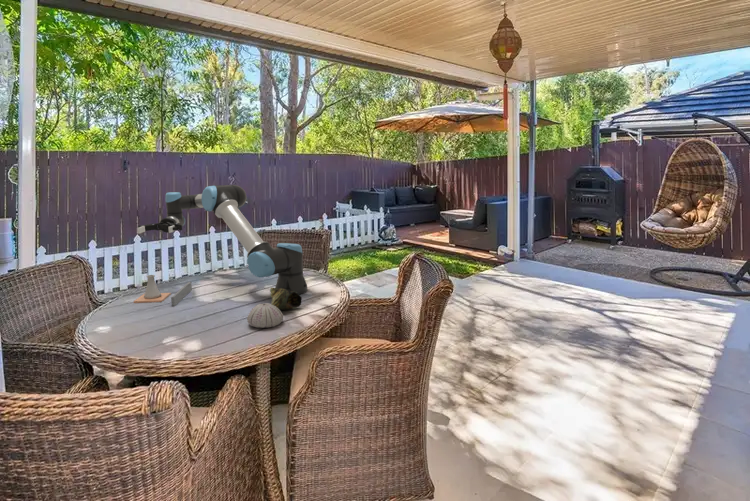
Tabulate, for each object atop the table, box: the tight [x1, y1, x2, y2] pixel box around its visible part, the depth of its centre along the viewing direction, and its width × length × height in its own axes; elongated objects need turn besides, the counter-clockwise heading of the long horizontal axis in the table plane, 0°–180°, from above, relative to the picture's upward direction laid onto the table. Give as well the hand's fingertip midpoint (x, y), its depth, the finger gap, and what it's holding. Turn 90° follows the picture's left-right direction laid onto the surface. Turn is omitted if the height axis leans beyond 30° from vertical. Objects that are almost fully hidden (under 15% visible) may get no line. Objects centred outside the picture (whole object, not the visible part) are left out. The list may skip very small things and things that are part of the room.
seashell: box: [269, 287, 303, 311], centre depth 184 cm, size 11×11×10 cm
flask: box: [143, 274, 162, 299], centre depth 202 cm, size 7×7×10 cm
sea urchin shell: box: [246, 302, 284, 329], centre depth 169 cm, size 13×14×8 cm
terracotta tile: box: [132, 292, 172, 304], centre depth 203 cm, size 12×12×1 cm
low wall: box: [170, 281, 193, 307], centre depth 204 cm, size 26×1×4 cm, turn 7°
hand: (154, 230), depth 207 cm, fingers open, 13 cm apart
